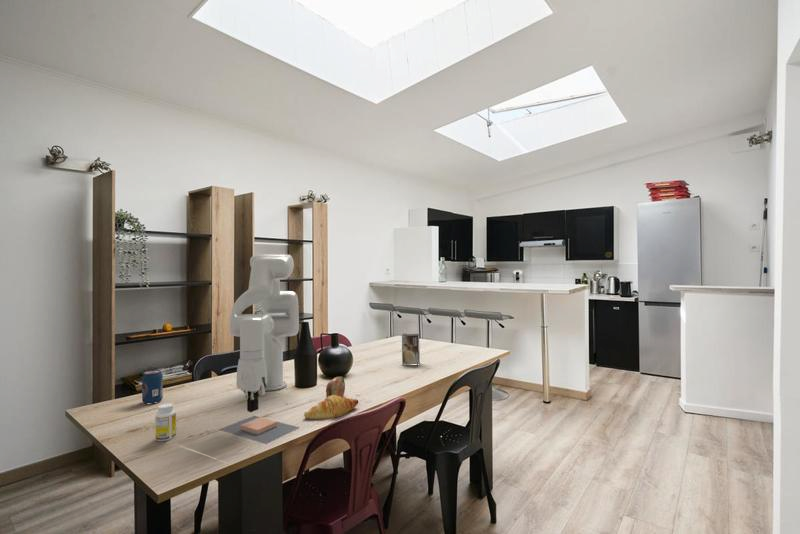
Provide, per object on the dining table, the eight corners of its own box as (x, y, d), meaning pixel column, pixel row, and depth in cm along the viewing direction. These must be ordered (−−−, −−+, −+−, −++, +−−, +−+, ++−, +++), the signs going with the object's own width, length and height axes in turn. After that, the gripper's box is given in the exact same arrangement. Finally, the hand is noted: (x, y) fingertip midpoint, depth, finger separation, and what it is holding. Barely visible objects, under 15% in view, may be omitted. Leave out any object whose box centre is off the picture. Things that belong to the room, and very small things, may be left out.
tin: (332, 406, 153) (332, 384, 153) (324, 406, 154) (324, 384, 154) (345, 394, 168) (345, 374, 168) (338, 394, 169) (338, 373, 169)
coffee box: (420, 363, 221) (420, 333, 221) (418, 365, 215) (418, 335, 215) (403, 362, 223) (403, 333, 223) (401, 365, 216) (401, 335, 216)
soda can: (139, 402, 160) (139, 371, 160) (159, 398, 165) (159, 368, 165) (145, 406, 155) (145, 374, 155) (165, 401, 160) (165, 371, 160)
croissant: (308, 433, 137) (312, 415, 134) (297, 412, 144) (300, 395, 141) (361, 417, 150) (366, 401, 147) (348, 398, 157) (353, 382, 154)
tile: (240, 425, 131) (257, 430, 127) (260, 417, 138) (277, 421, 134) (240, 430, 131) (257, 435, 127) (260, 421, 138) (277, 426, 134)
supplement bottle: (172, 433, 130) (171, 401, 130) (179, 437, 126) (179, 404, 126) (152, 438, 125) (152, 405, 125) (159, 443, 122) (159, 409, 122)
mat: (218, 430, 132) (218, 429, 132) (254, 416, 144) (254, 415, 144) (266, 444, 121) (266, 443, 121) (299, 428, 133) (299, 427, 133)
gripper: (227, 354, 134) (228, 410, 134) (258, 359, 127) (259, 418, 127) (246, 350, 141) (247, 403, 141) (277, 355, 133) (277, 410, 133)
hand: (252, 410), depth 134 cm, fingers closed
